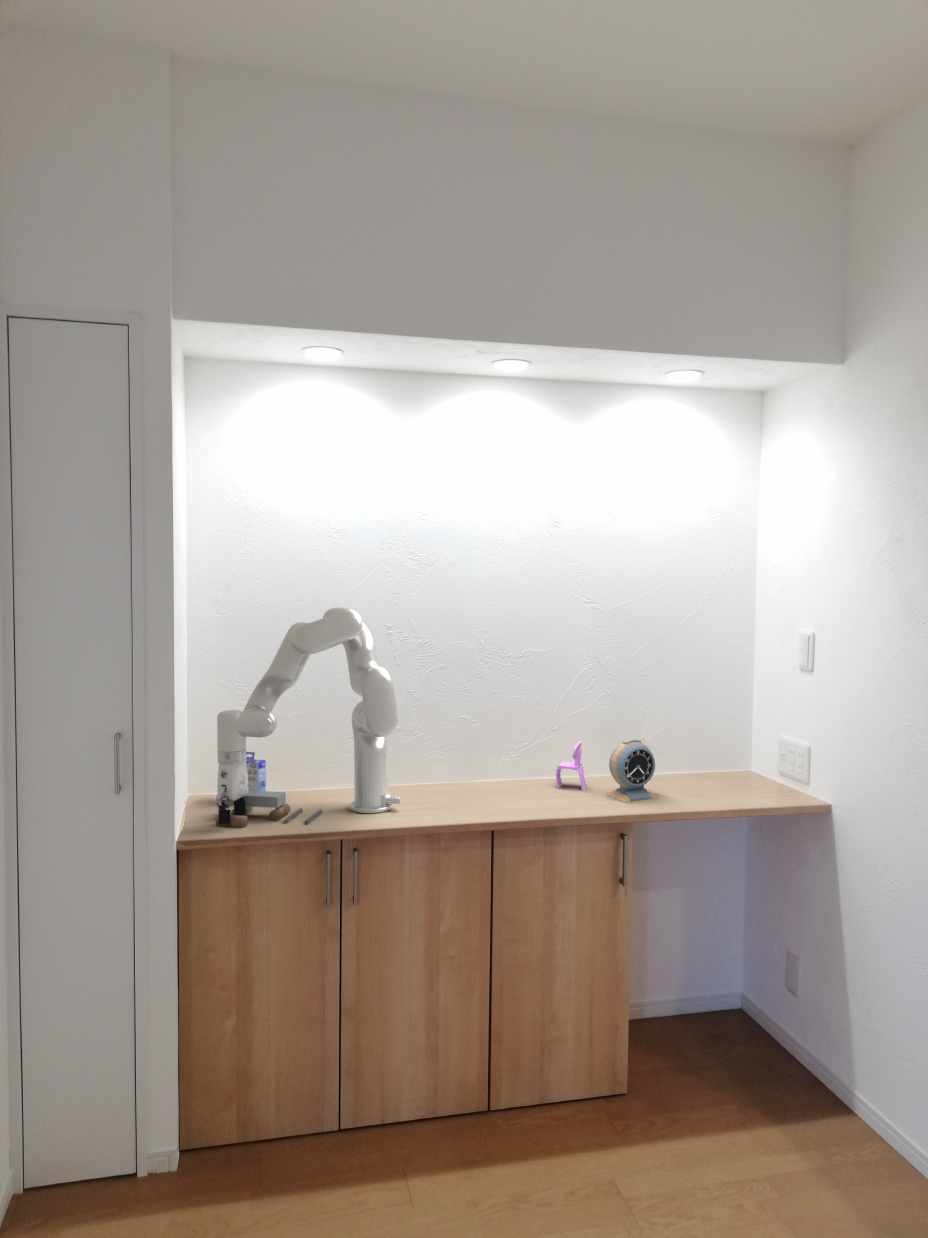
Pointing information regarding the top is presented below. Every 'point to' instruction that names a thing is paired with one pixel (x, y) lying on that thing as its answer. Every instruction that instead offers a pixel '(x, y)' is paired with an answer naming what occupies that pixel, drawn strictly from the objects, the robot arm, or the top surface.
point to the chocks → (301, 812)
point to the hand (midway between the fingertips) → (232, 819)
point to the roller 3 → (279, 812)
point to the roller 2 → (246, 811)
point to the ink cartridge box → (256, 773)
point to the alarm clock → (631, 771)
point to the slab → (263, 799)
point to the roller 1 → (235, 821)
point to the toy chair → (572, 767)
